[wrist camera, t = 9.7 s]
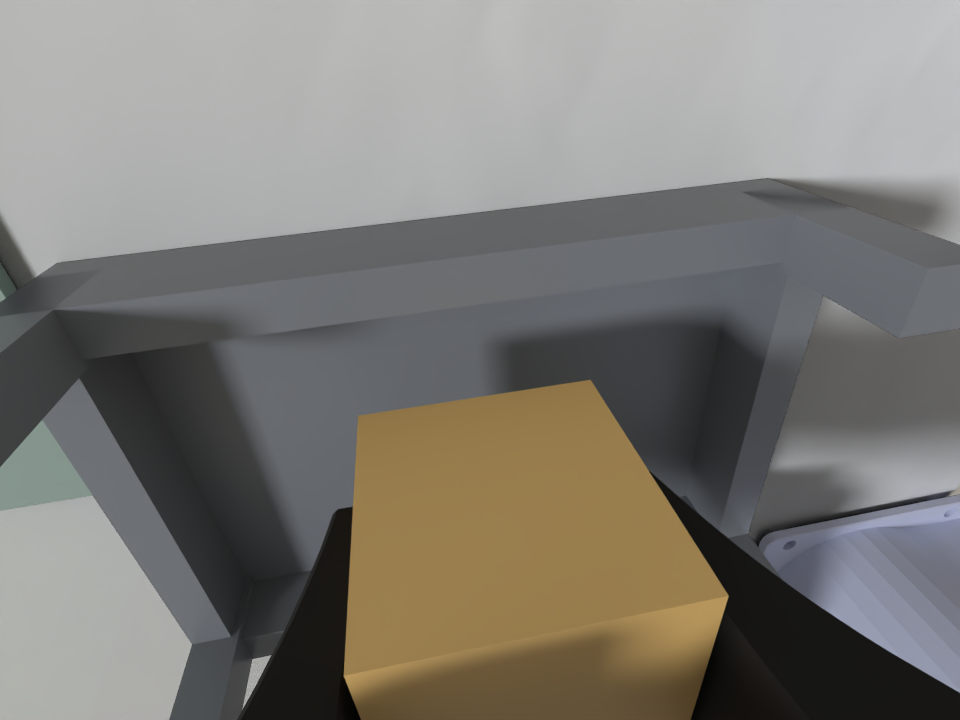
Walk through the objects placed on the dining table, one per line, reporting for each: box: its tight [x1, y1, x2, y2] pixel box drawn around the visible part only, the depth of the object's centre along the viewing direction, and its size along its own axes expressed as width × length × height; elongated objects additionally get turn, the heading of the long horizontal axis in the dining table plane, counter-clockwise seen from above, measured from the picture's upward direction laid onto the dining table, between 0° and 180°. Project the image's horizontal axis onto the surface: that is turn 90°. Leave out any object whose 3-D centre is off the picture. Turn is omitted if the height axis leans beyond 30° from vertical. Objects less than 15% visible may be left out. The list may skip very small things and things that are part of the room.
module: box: [344, 380, 729, 720], centre depth 9 cm, size 4×4×5 cm
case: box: [0, 178, 960, 720], centre depth 12 cm, size 16×11×6 cm
